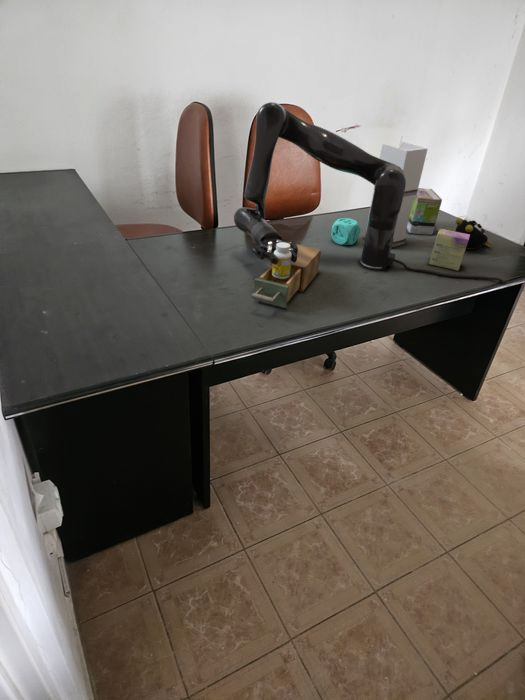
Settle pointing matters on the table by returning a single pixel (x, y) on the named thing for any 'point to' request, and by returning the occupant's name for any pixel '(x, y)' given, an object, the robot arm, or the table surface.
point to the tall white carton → (412, 166)
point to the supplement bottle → (282, 261)
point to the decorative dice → (345, 231)
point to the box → (449, 249)
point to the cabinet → (306, 264)
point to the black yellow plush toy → (472, 233)
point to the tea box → (424, 212)
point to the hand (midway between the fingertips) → (285, 260)
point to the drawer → (277, 287)
